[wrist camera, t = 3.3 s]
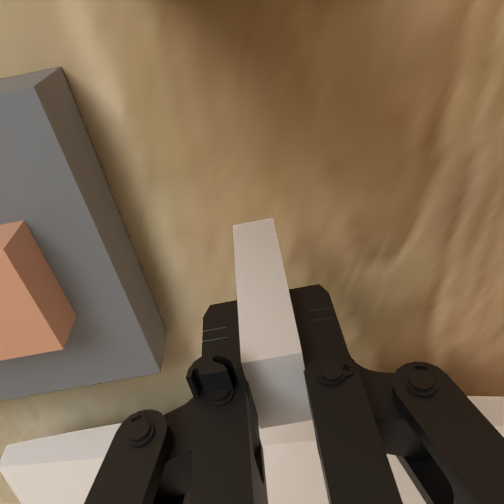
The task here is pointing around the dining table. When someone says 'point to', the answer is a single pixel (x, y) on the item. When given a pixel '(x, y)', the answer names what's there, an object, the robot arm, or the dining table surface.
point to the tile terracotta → (29, 297)
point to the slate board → (72, 243)
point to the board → (274, 450)
